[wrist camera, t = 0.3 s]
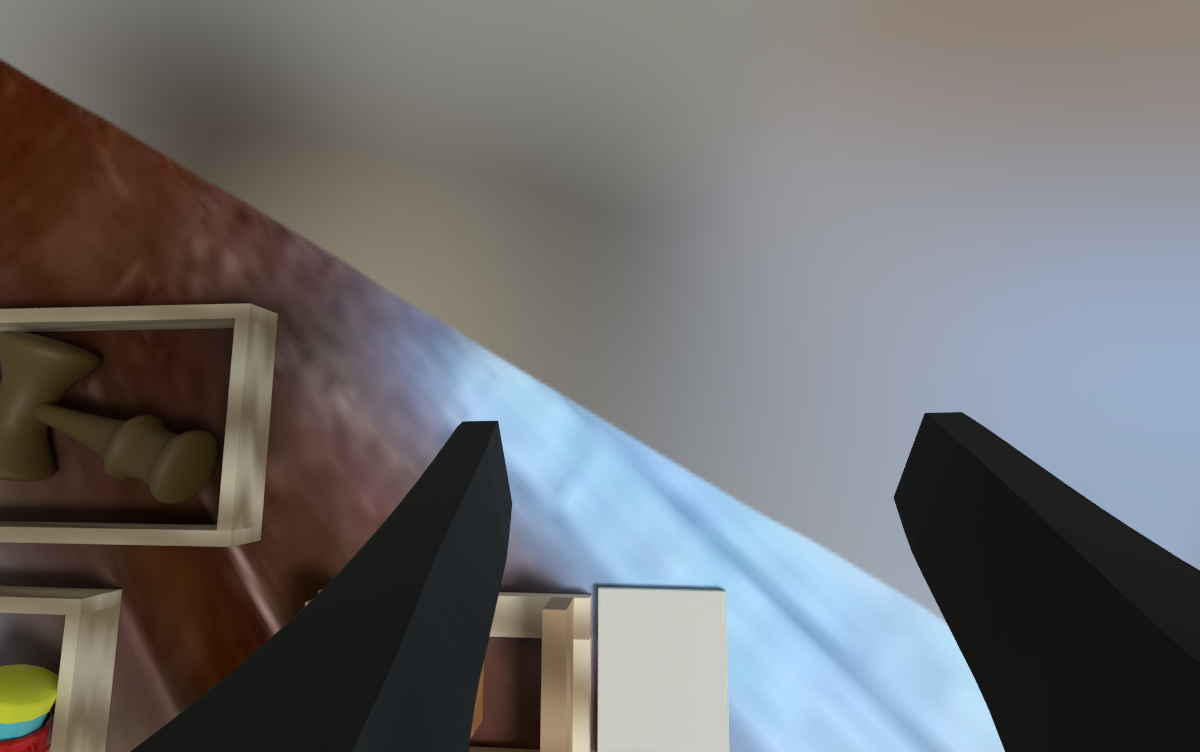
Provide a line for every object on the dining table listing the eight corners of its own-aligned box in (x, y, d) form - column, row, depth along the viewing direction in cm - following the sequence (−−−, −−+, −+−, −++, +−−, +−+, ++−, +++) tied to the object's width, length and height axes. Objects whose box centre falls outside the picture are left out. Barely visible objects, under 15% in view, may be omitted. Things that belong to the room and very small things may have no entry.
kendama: (198, 535, 43) (-35, 442, 45) (253, 407, 44) (23, 322, 46) (128, 545, 37) (-137, 438, 39) (193, 397, 38) (-68, 301, 40)
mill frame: (260, 540, 42) (229, 546, 39) (-73, 533, 44) (-125, 539, 41) (277, 313, 44) (250, 303, 41) (-41, 320, 46) (-89, 311, 43)
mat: (728, 759, 37) (729, 764, 36) (598, 753, 38) (597, 757, 37) (724, 590, 38) (725, 591, 38) (599, 586, 39) (598, 588, 38)
